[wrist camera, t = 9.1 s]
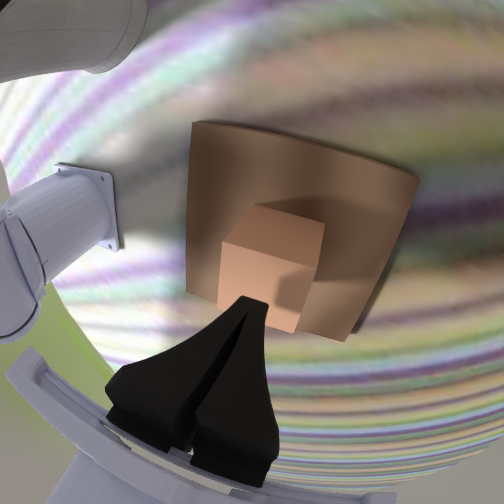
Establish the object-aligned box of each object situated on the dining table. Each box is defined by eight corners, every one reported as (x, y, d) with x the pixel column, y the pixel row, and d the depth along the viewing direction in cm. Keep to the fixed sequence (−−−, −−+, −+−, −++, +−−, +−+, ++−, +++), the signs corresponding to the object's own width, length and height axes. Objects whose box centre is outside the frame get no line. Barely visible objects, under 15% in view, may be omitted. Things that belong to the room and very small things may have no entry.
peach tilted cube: (244, 262, 20) (216, 308, 16) (253, 204, 17) (222, 241, 13) (306, 281, 19) (293, 333, 15) (325, 223, 16) (316, 269, 12)
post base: (191, 285, 24) (161, 324, 20) (199, 120, 16) (151, 132, 12) (344, 333, 22) (339, 384, 17) (415, 175, 14) (442, 205, 10)
